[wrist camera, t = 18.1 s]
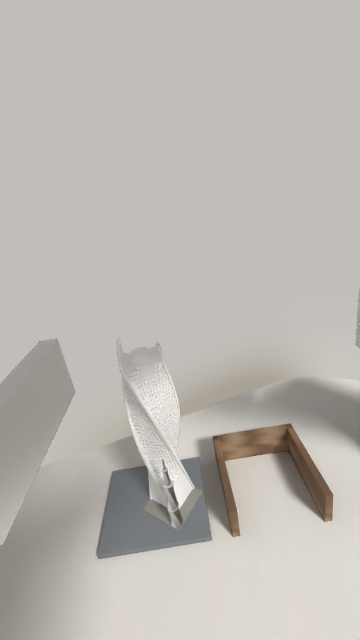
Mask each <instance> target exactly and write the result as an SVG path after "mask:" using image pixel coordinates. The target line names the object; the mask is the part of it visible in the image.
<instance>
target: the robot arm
mask: <svg viewBox="0 0 360 640" xmlns="http://www.w3.org/2000/svg"><path fill="white" fill-rule="evenodd" d="M356 346H358V347H359V348H360V288H359V301H358V317H357V332H356ZM74 394H75V390H74V387H73V384H72V381H71V378H70V375H69V372H68V369H67V366H66V363H65V360H64V357H63V354H62V351H61V348H60V345H59V342H58V339H50V340H45V341H40V342H39V343H38V344H37V345H36V346H35V347H34V348H33V349H32V350H31V351H30V352H29V353H28V355H27V356H26V357H25V358H24V359H23V360H22V361H21V362H20V363H19V364H18V365H17V366H16V367H15V369H14V370H13V371H12V372H11V373H10V374H9V375H8V376H7V377H6V378H5V379H4V381H3V382H2V383H1V384H0V545H3V543H4V541H5V539H6V537H7V535H8V533H9V531H10V528H11V526H12V524H13V522H14V520H15V518H16V516H17V514H18V512H19V509H20V507H21V505H22V503H23V501H24V499H25V497H26V495H27V493H28V491H29V488H30V486H31V484H32V482H33V480H34V478H35V476H36V474H37V472H38V470H39V467H40V465H41V463H42V461H43V459H44V457H45V454H46V453H47V451H48V448H49V446H50V444H51V442H52V440H53V438H54V436H55V434H56V432H57V429H58V427H59V425H60V423H61V421H62V419H63V417H64V415H65V413H66V411H67V408H68V406H69V404H70V402H71V400H72V398H73V395H74Z"/></svg>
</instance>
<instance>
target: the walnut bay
mask: <svg viewBox="0 0 360 640" xmlns="http://www.w3.org/2000/svg"><path fill="white" fill-rule="evenodd" d="M213 441H214V448H215V455H216V460H217V465H218V470H219V474H220V479H221V483H222V488H223V493H224V497H225V502H226V507H227V511H228V516H229V521H230V525H231V530H232V535H233V537H235V536H240V531H239V523H238V515H237V509H236V505H235V501H234V497H233V493H232V489H231V485H230V481H229V477H228V473H227V469H226V464H225V461H226V460H232V459H238V458H244V457H250V456H256V455H262V454H269V453H275V452H281V451H287V450H288V451H289V453H290V455H291V457H292V459H293V461H294V463H295V465H296V467H297V469H298V471H299V473H300V474H301V476H302V478H303V480H304V482H305V484H306V486H307V488H308V490H309V492H310V494H311V496H312V498H313V499H314V501H315V503H316V505H317V507H318V509H319V511H320V513H321V515H322V517H323V519H324V521H325V522H326V521H332V512H333V494H332V492H331V490H330V489H329V487H328V485H327V484H326V482H325V480H324V479H323V477H322V475H321V474H320V472H319V470H318V469H317V467H316V465H315V464H314V462H313V460H312V459H311V457H310V455H309V454H308V452H307V450H306V449H305V447H304V445H303V444H302V442H301V440H300V439H299V437H298V435H297V434H296V432H295V430H294V429H293V427H292V425H291V424H285V425H279V426H273V427H267V428H261V429H255V430H249V431H243V432H237V433H231V434H225V435H219V436H213Z"/></svg>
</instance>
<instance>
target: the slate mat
mask: <svg viewBox="0 0 360 640" xmlns="http://www.w3.org/2000/svg"><path fill="white" fill-rule="evenodd" d="M180 462H181V463H182V465H183V467H184V469H185V471H186V472H187V474H188V476H189V478H190V480H191V481H192V483H193V485H194V487H195V488H197V489H200V490H202V491H203V493H202V495H201V496H200V498H199V500H198V501H197V503H196V504H195V506H194V508H193V509H192V511H191V513H190V514H189V516H188V518H187V519H186V521H185V523H184V524H183V526H182V528H181V529H180V531H178V530H176V529H174V528H173V527H171V526H169V525H167V524H166V523H164V522H162V521H161V520H159V519H157V518H156V517H154V516H152V515H151V514H149V513H147V512H146V511H144V510H143V508H144V507H145V505H146V504H147V503H148V501H149V500H150V493H149V475H148V468H147V466H142V467H136V468H130V469H124V470H118V471H113V474H112V480H111V485H110V490H109V496H108V501H107V506H106V512H105V517H104V522H103V528H102V533H101V538H100V544H99V549H98V554H97V556H98V558H99V559H102V558H108V557H114V556H120V555H126V554H132V553H138V552H144V551H150V550H156V549H162V548H168V547H174V546H180V545H187V544H193V543H199V542H205V541H211V540H212V538H211V532H210V525H209V518H208V512H207V505H206V498H205V492H204V485H203V478H202V471H201V465H200V458H199V457H197V458H191V459H185V460H180Z"/></svg>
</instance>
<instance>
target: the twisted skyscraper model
mask: <svg viewBox="0 0 360 640" xmlns="http://www.w3.org/2000/svg"><path fill="white" fill-rule="evenodd" d="M116 346H117V356H118V362H119V367H120V372H121V374H122V386H123V395H124V402H125V408H126V413H127V417H128V421H129V425H130V428H131V431H132V434H133V437H134V440H135V443H136V445H137V448H138V450H139V452H140V454H141V456H142V459H143V461H144V463H145V465H146V466H147V468H148V475H149V493H150V500H149V501H148V503H147V504H146V505H145V507H144V508H143V510H144V511H146V512H147V513H149V514H151V515H152V516H154V517H156V518H157V519H159V520H161V521H162V522H164V523H166V524H167V525H169V526H171V527H173V528H174V529H176V530H178V531H180V529H181V528H182V526H183V524H184V523H185V521H186V519H187V518H188V516H189V514H190V513H191V511H192V509H193V508H194V506H195V504H196V503H197V501H198V500H199V498H200V496H201V495H202V493H203V491H202V490H200V489H197V488H195V487H194V485H193V483H192V481H191V480H190V478H189V476H188V474H187V472H186V471H185V469H184V467H183V465H182V463H181V462H180V459H179V455H178V447H177V444H178V438H179V430H180V408H179V402H178V397H177V394H176V390H175V387H174V384H173V381H172V378H171V376H170V373H169V371H168V368H167V366H166V363H165V361H164V357H163V354H162V350H161V347H160V344H159V343H158V342H157V343H156V347H152V348H146V347H141V348H136V349H134V350H132V351H131V352H130V353H125V354H123V349H122V345H121V341H120V339H119V338H118V339H117V341H116Z"/></svg>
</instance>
